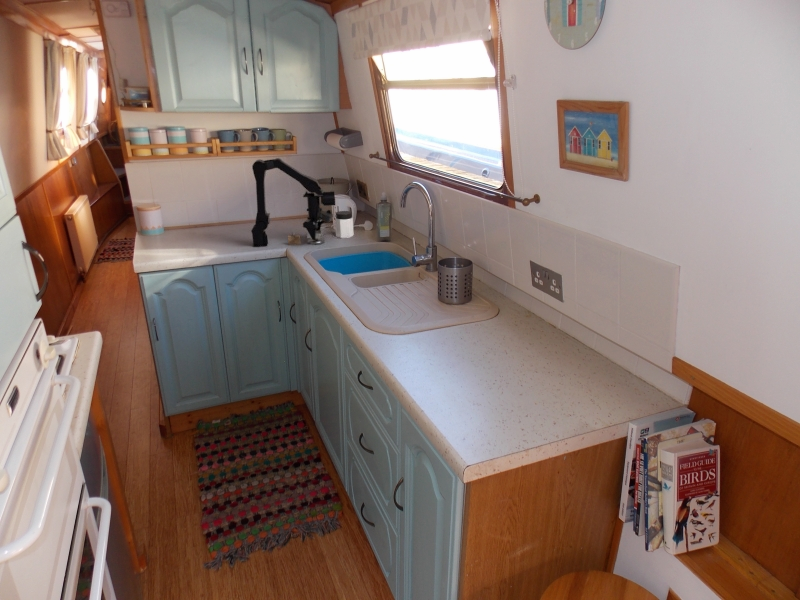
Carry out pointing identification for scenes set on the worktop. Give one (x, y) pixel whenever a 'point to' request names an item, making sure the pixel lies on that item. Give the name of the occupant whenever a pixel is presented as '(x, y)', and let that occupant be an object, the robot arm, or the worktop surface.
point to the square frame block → (317, 234)
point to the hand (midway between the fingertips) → (315, 237)
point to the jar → (344, 224)
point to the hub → (316, 241)
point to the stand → (294, 239)
